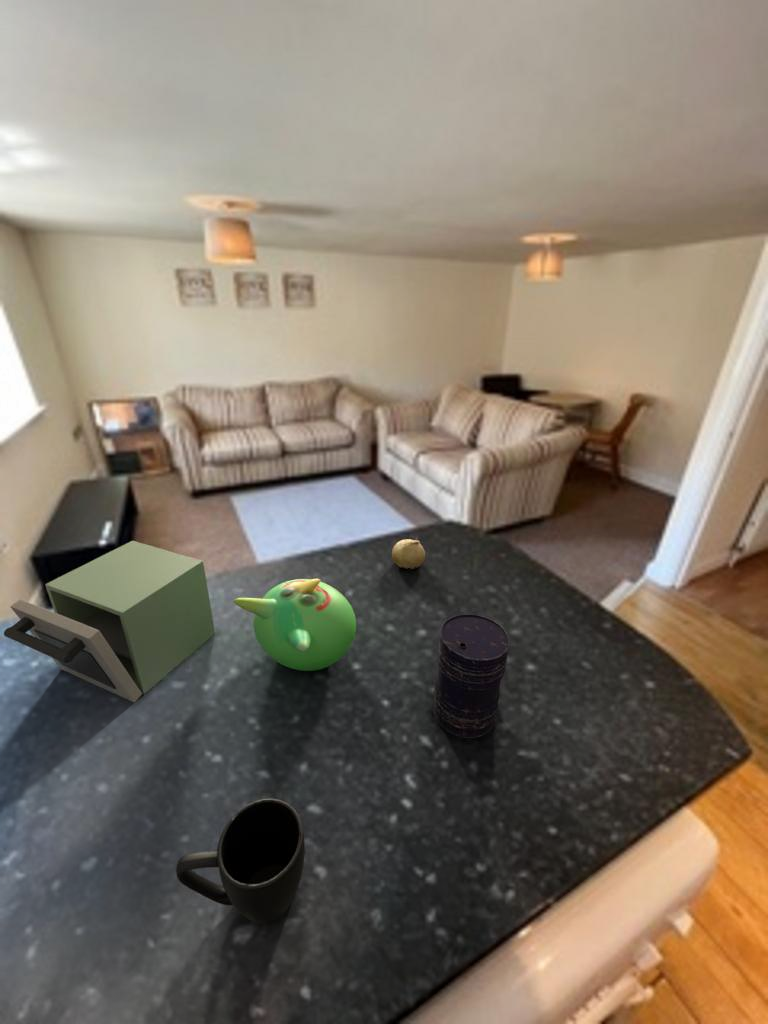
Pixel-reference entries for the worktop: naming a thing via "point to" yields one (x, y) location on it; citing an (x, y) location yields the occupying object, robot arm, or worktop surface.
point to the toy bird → (302, 623)
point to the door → (72, 648)
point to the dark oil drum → (469, 674)
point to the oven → (140, 607)
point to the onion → (408, 554)
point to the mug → (253, 862)
